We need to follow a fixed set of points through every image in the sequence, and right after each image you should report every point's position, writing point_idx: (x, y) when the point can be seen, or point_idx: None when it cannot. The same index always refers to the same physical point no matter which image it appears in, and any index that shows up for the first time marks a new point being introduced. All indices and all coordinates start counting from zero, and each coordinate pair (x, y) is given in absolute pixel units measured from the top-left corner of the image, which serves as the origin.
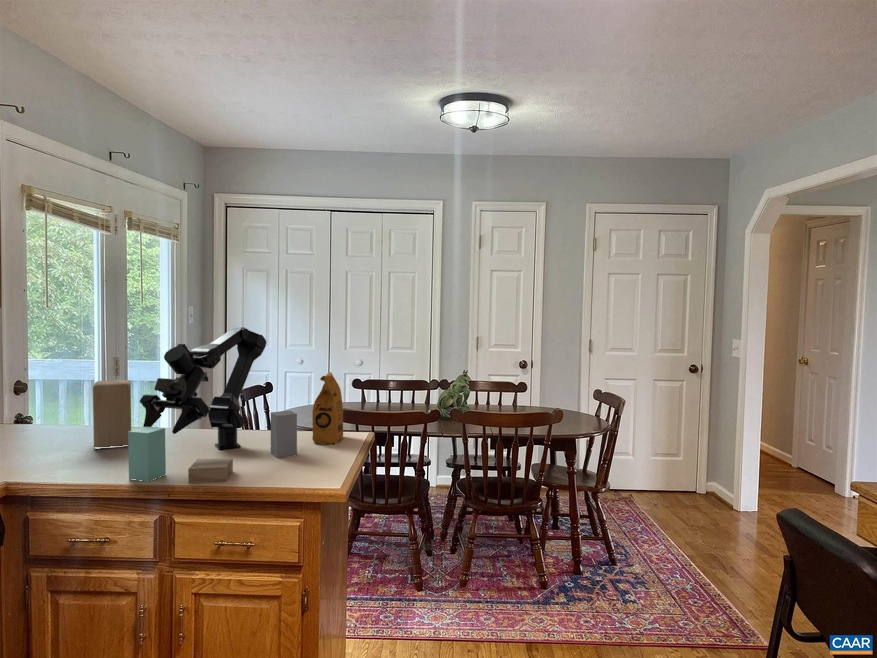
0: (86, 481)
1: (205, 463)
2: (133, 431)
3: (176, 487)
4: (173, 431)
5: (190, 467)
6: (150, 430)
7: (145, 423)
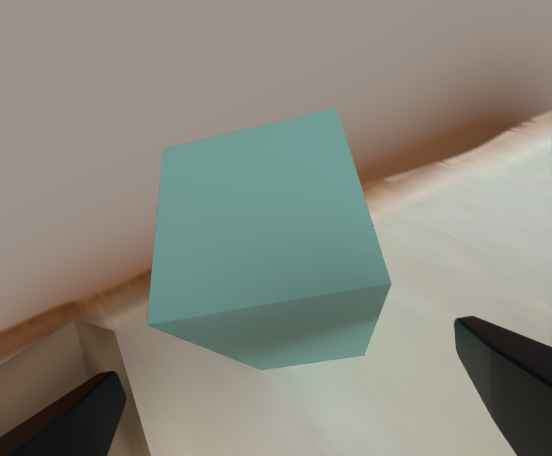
0: (460, 182)
1: None
2: (297, 124)
3: (128, 281)
4: (98, 375)
5: (75, 339)
6: (203, 200)
7: (514, 347)
